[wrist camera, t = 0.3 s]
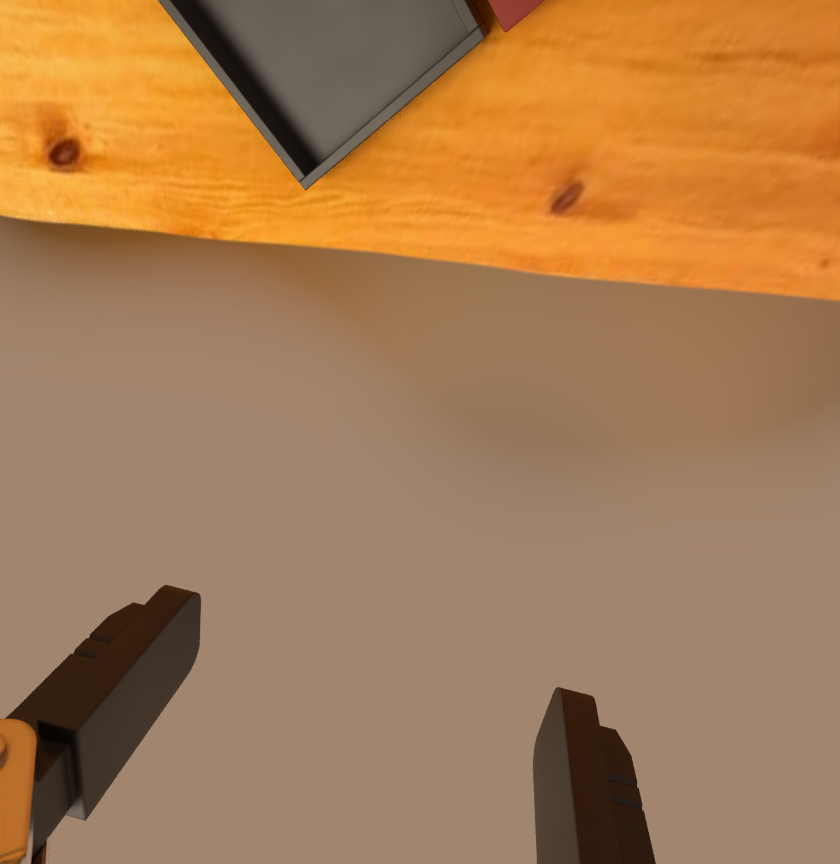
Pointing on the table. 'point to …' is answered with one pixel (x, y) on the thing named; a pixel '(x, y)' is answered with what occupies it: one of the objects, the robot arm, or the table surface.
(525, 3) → the red square pod holder
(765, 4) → the table surface
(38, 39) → the table surface
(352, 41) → the tray
